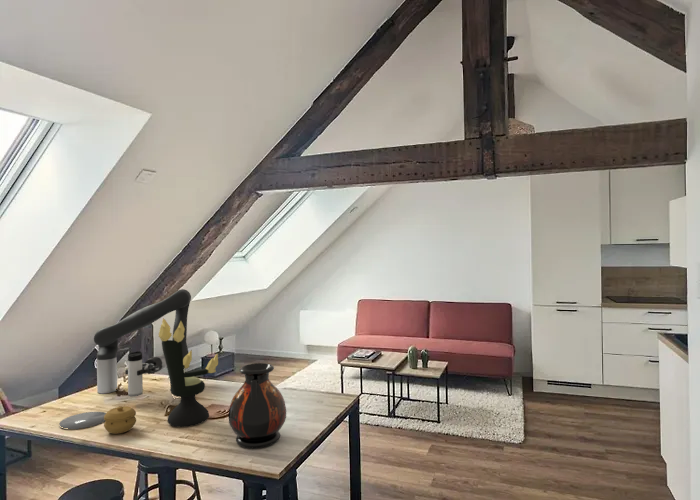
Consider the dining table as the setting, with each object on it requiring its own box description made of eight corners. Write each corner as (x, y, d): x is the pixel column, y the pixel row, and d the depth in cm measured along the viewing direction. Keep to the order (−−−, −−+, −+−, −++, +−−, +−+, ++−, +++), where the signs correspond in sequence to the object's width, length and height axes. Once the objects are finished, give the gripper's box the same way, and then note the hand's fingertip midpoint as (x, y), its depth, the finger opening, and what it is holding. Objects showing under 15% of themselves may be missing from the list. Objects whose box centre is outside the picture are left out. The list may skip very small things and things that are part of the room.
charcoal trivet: (59, 419, 200) (59, 417, 200) (106, 411, 209) (106, 408, 209) (59, 433, 185) (59, 430, 185) (109, 423, 194) (109, 421, 194)
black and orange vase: (234, 430, 184) (233, 360, 184) (288, 428, 185) (287, 359, 185) (223, 454, 162) (221, 375, 162) (284, 451, 164) (283, 373, 164)
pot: (97, 436, 181) (96, 411, 181) (116, 425, 192) (116, 401, 192) (124, 437, 179) (124, 412, 179) (142, 426, 191) (141, 402, 191)
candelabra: (221, 417, 198) (219, 313, 198) (178, 436, 179) (176, 321, 179) (191, 410, 208) (189, 311, 207) (147, 427, 189) (145, 318, 188)
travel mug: (145, 392, 221) (145, 351, 221) (138, 397, 215) (137, 354, 214) (133, 392, 222) (132, 350, 221) (125, 396, 215) (124, 354, 215)
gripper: (145, 355, 234) (119, 363, 218) (168, 357, 229) (144, 366, 213) (145, 370, 234) (119, 379, 218) (168, 372, 229) (144, 382, 214)
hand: (131, 372), depth 216 cm, fingers closed on travel mug, 6 cm apart
